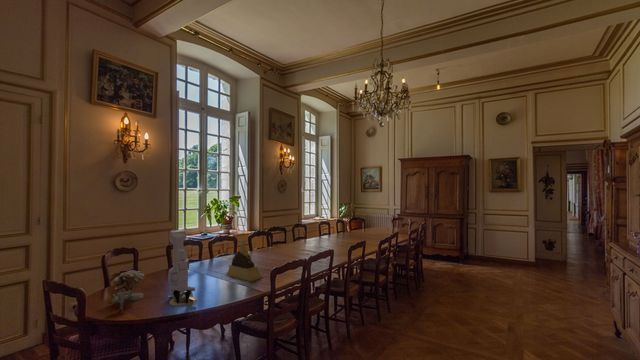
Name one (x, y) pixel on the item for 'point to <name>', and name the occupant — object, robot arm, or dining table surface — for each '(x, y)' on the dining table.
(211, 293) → the dining table surface
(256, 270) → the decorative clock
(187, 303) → the flange plate
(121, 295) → the mechanical component
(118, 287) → the cherub figurine
